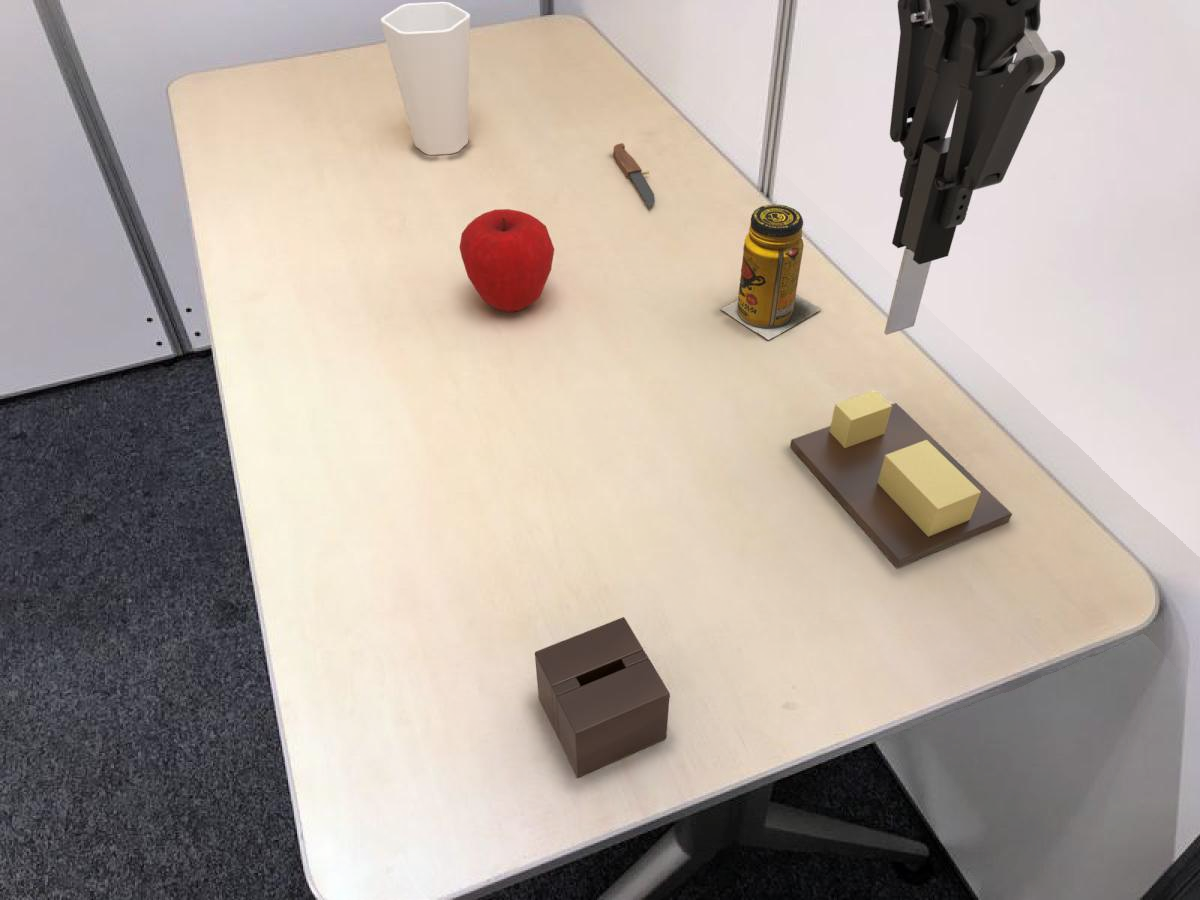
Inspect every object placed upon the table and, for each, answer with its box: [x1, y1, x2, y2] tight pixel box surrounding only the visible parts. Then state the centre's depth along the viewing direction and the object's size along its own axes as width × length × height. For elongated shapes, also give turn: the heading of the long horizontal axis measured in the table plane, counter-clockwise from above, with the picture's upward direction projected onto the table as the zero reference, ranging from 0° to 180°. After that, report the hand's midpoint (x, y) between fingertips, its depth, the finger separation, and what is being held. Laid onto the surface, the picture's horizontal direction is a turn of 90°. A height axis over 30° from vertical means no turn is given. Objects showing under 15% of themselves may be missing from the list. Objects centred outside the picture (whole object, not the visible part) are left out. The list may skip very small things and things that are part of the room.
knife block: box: [534, 616, 671, 778], centre depth 68 cm, size 7×7×6 cm
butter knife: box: [883, 136, 951, 336], centre depth 73 cm, size 2×3×16 cm, turn 115°
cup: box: [380, 1, 471, 156], centre depth 128 cm, size 11×10×17 cm
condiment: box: [719, 204, 823, 341], centre depth 102 cm, size 7×8×12 cm
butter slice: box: [829, 389, 892, 448], centre depth 89 cm, size 2×4×4 cm, turn 115°
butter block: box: [877, 440, 981, 537], centre depth 83 cm, size 7×4×4 cm, turn 25°
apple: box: [459, 208, 555, 313], centre depth 103 cm, size 10×10×11 cm
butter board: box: [789, 402, 1013, 568], centre depth 87 cm, size 16×12×1 cm
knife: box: [613, 142, 656, 209], centre depth 126 cm, size 17×1×3 cm
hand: (919, 249), depth 73 cm, fingers closed on butter knife, 2 cm apart
